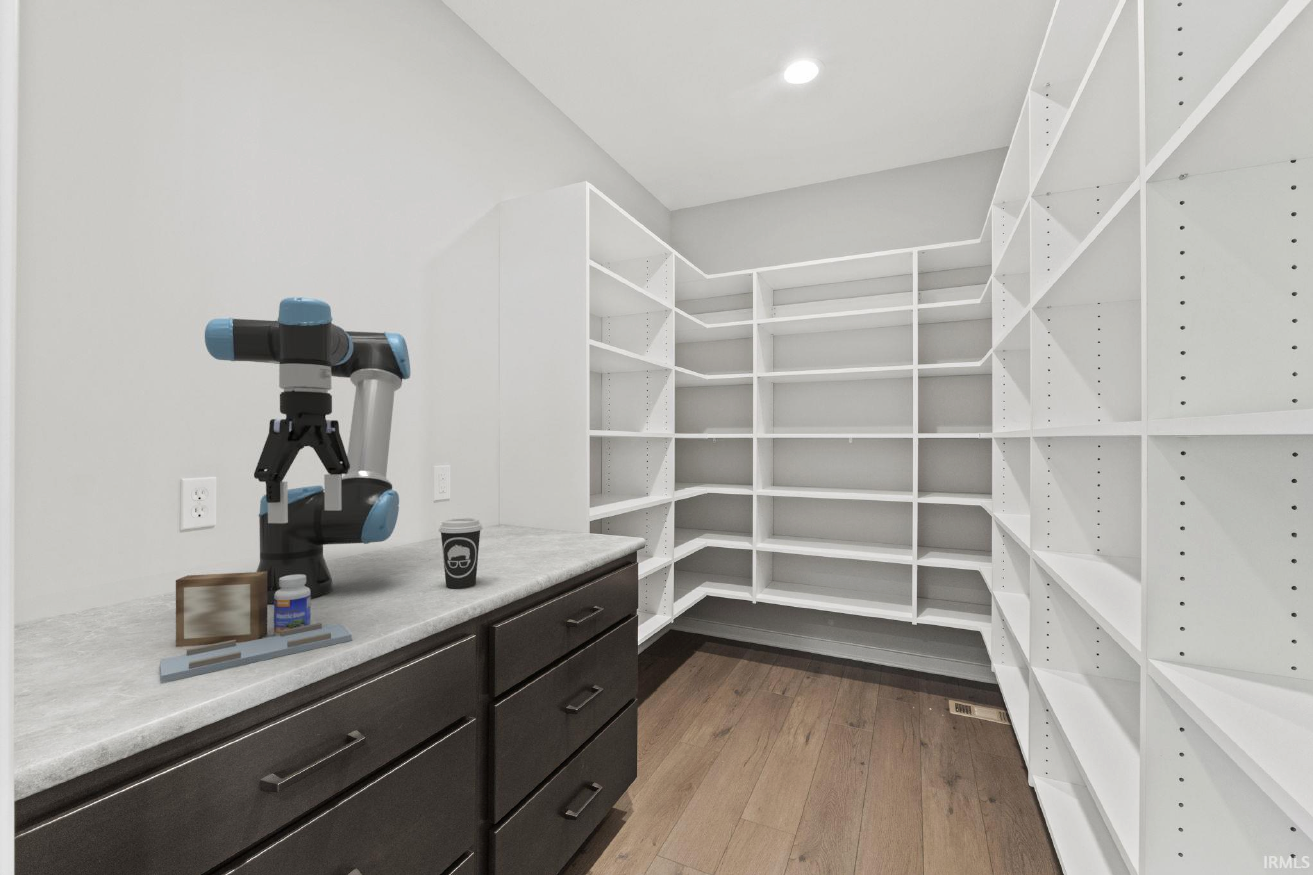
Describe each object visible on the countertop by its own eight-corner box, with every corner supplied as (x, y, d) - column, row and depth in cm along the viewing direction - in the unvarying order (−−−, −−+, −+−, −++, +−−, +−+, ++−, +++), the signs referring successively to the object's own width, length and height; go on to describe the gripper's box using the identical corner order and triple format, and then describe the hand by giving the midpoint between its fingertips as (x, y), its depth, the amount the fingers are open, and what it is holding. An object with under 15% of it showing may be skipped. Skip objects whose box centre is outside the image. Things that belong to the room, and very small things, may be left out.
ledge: (160, 665, 84) (160, 653, 84) (339, 628, 100) (339, 618, 100) (161, 682, 78) (161, 670, 78) (351, 640, 94) (351, 629, 94)
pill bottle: (271, 639, 94) (271, 582, 94) (276, 629, 99) (275, 575, 99) (309, 634, 97) (308, 578, 97) (311, 625, 102) (311, 571, 102)
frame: (175, 647, 91) (175, 580, 91) (187, 640, 94) (187, 575, 94) (258, 641, 94) (258, 576, 94) (267, 634, 97) (267, 571, 97)
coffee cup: (491, 583, 130) (491, 519, 130) (457, 593, 122) (456, 524, 122) (464, 578, 136) (464, 516, 136) (429, 587, 128) (429, 521, 128)
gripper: (272, 385, 82) (273, 529, 82) (369, 395, 107) (370, 506, 107) (223, 385, 82) (225, 529, 83) (332, 395, 107) (333, 505, 108)
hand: (307, 516), depth 95 cm, fingers open, 13 cm apart
